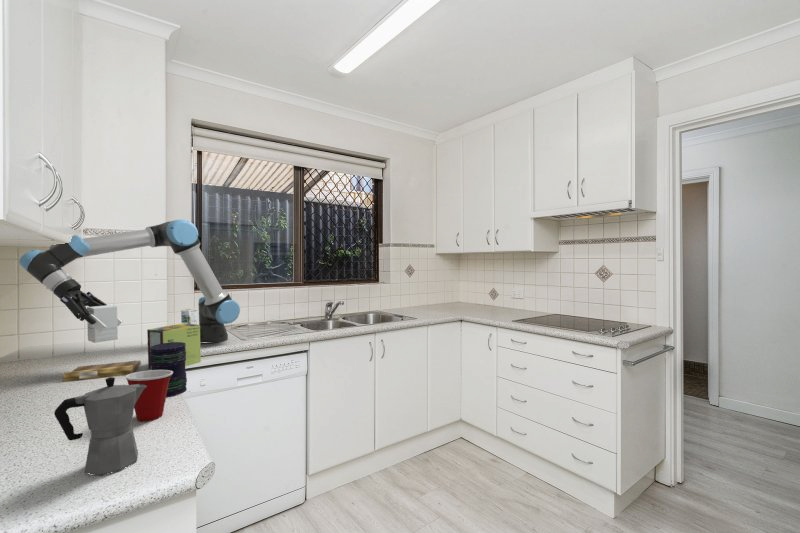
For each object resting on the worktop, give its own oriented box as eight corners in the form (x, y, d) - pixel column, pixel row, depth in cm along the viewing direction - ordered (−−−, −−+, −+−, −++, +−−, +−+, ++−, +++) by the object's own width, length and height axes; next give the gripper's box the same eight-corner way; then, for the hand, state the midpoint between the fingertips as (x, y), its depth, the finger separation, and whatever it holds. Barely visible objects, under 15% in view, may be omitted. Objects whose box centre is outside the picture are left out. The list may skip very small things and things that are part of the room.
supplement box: (110, 337, 148) (110, 304, 148) (118, 339, 144) (117, 306, 144) (87, 340, 142) (86, 306, 142) (94, 343, 138) (93, 308, 138)
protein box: (201, 362, 157) (200, 324, 157) (163, 372, 144) (162, 331, 143) (185, 359, 162) (184, 322, 162) (147, 368, 149) (146, 329, 148)
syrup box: (180, 335, 212) (180, 309, 212) (189, 333, 218) (189, 308, 217) (189, 336, 210) (188, 310, 210) (197, 334, 216) (197, 308, 216)
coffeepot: (139, 444, 88) (137, 366, 87) (157, 457, 82) (155, 373, 82) (50, 476, 75) (47, 384, 75) (64, 493, 70) (61, 394, 69)
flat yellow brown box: (140, 364, 155) (140, 356, 155) (132, 374, 141) (132, 366, 141) (78, 370, 147) (78, 362, 147) (63, 382, 133) (62, 373, 133)
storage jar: (187, 393, 120) (186, 346, 120) (150, 400, 115) (149, 350, 115) (186, 385, 129) (185, 340, 128) (151, 390, 124) (150, 344, 123)
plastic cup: (183, 411, 107) (182, 368, 106) (147, 427, 96) (146, 380, 96) (153, 407, 110) (152, 365, 109) (115, 422, 99) (114, 377, 99)
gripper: (75, 290, 151) (120, 328, 154) (30, 295, 129) (84, 340, 132) (90, 276, 152) (134, 314, 155) (48, 279, 130) (101, 324, 133)
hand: (111, 326), depth 144 cm, fingers closed on supplement box, 10 cm apart
